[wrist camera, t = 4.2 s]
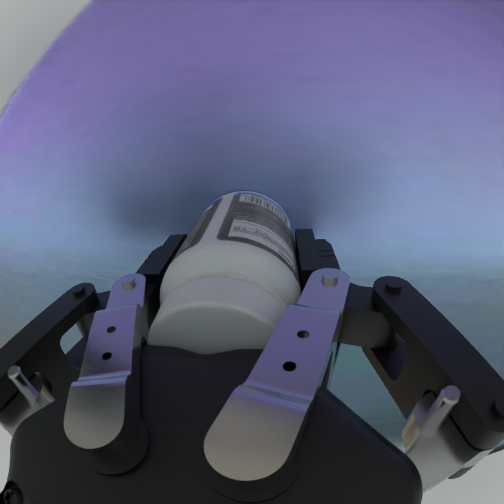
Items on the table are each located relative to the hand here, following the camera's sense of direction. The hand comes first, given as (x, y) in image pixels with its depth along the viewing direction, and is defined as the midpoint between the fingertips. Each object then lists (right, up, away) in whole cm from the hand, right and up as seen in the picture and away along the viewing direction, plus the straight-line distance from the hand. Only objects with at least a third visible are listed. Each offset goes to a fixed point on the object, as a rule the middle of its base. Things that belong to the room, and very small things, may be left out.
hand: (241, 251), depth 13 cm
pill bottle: (0, +1, +2) cm, 2 cm away
